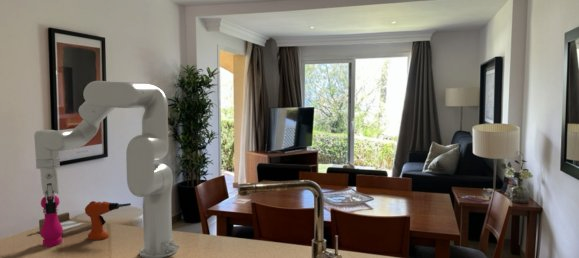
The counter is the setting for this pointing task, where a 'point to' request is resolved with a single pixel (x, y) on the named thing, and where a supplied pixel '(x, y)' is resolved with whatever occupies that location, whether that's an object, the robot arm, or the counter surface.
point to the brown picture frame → (69, 225)
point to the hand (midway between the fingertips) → (50, 210)
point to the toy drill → (99, 217)
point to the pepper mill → (51, 226)
